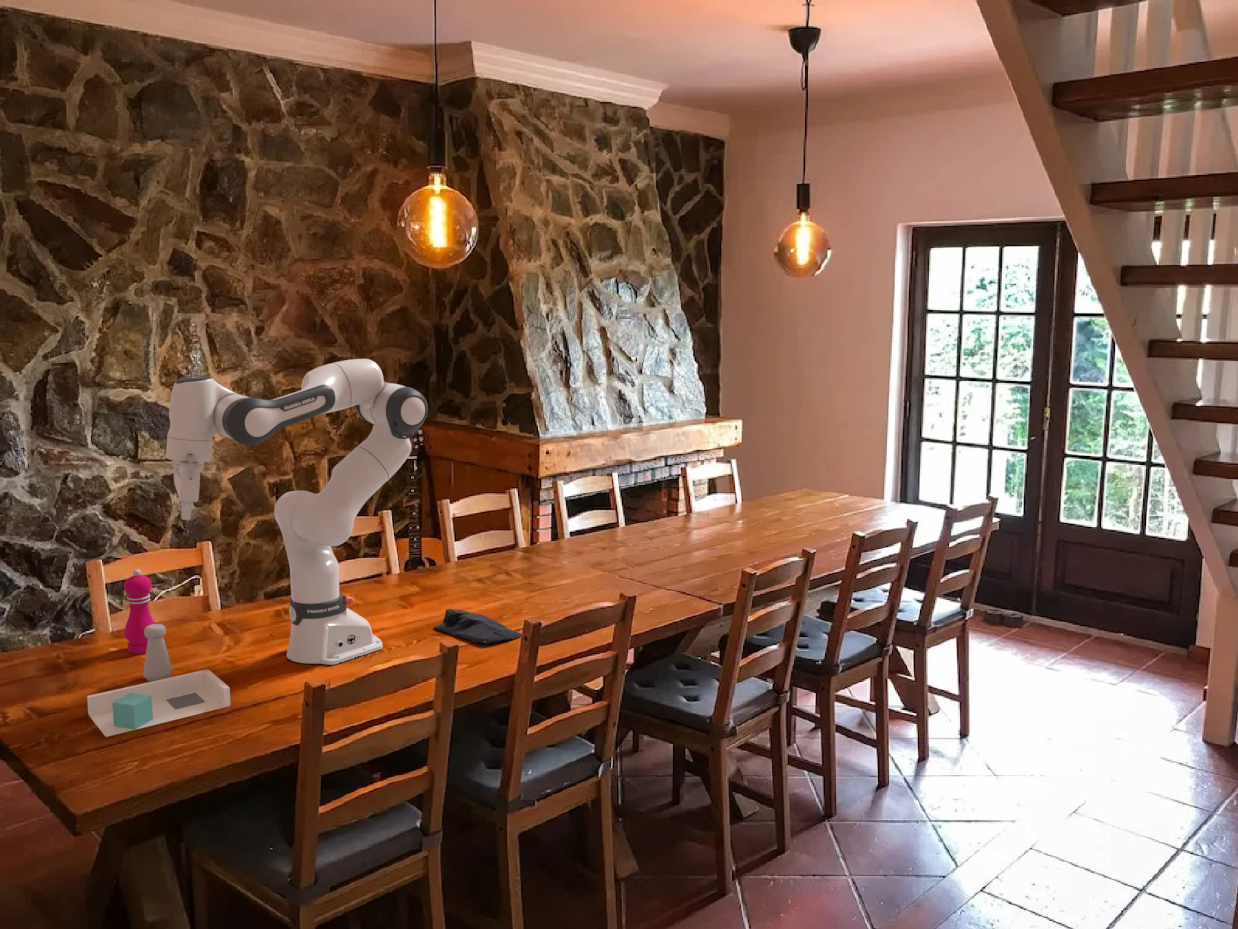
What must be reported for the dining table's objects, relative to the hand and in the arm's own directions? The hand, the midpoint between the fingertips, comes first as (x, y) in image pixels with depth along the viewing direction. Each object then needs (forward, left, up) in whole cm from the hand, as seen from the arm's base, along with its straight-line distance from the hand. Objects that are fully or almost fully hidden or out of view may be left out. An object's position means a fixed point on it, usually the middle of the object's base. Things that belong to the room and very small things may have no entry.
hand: (184, 515), depth 219 cm
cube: (+16, +15, -38) cm, 44 cm away
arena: (+10, +12, -39) cm, 42 cm away
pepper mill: (+2, -30, -39) cm, 49 cm away
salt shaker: (+5, -7, -39) cm, 40 cm away
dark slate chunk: (-69, +8, -39) cm, 80 cm away
